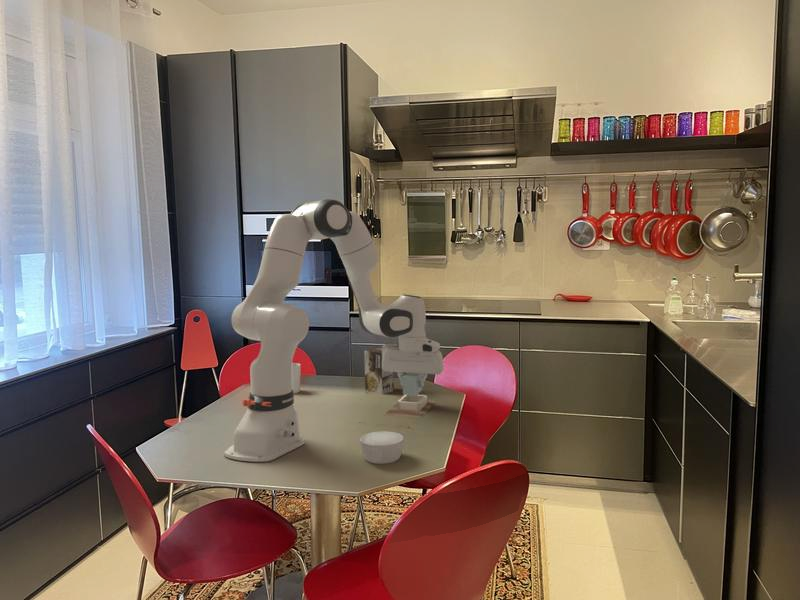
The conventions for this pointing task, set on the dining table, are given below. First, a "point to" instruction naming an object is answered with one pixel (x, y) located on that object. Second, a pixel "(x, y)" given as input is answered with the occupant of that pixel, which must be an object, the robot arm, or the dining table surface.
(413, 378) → the keyed plug
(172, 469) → the dining table surface
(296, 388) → the drinking glass
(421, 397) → the socket
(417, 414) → the walnut board
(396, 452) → the ramekin
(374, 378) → the coffee box
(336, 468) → the dining table surface
